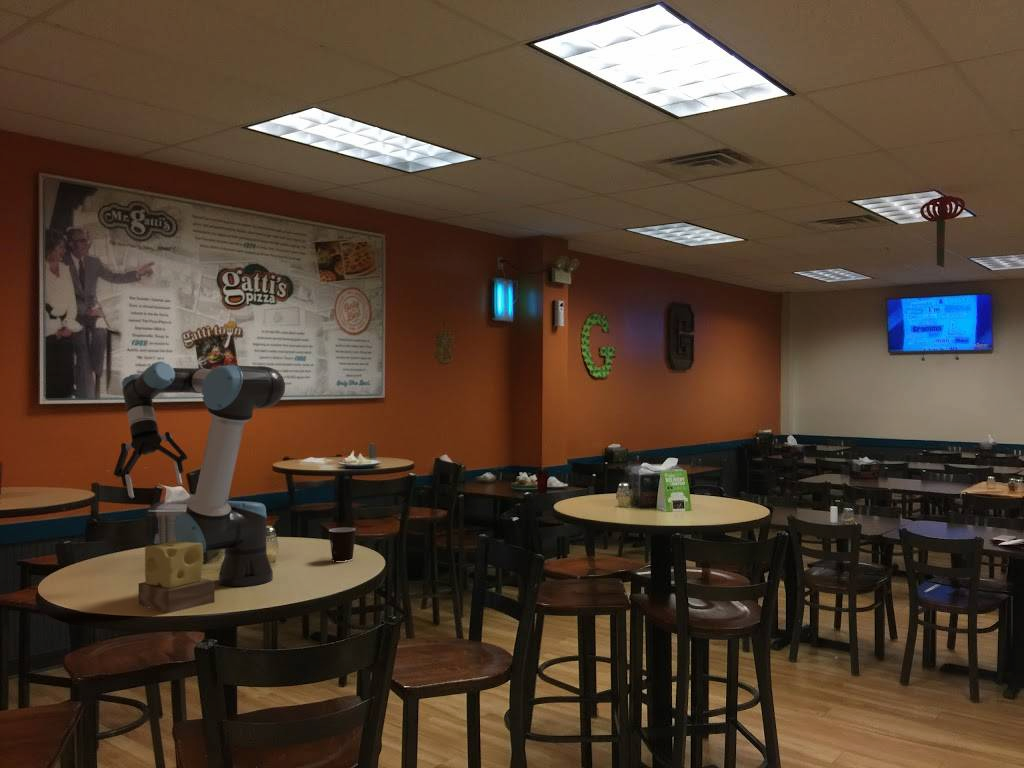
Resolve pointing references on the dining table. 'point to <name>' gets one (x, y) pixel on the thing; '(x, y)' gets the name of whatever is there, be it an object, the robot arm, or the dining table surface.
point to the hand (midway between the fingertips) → (156, 490)
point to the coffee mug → (342, 543)
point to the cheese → (173, 563)
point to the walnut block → (177, 596)
